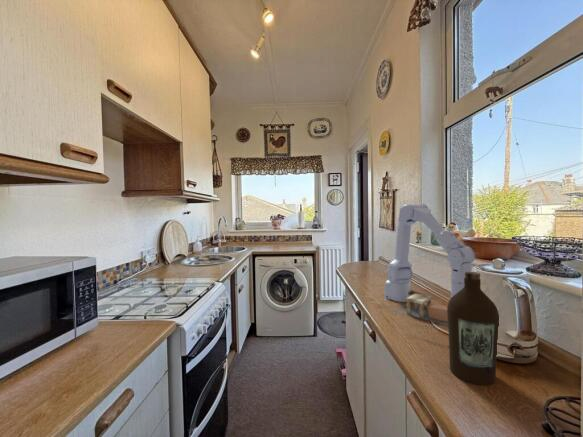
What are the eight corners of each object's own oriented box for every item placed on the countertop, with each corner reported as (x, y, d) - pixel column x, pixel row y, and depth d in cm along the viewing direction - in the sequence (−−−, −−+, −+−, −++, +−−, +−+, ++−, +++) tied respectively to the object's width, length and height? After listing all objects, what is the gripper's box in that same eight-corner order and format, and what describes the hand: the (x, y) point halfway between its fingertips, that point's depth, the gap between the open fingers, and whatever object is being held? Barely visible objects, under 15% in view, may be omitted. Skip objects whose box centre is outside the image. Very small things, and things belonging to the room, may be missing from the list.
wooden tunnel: (406, 313, 104) (406, 298, 104) (415, 308, 110) (415, 293, 110) (423, 318, 100) (423, 301, 100) (431, 311, 106) (431, 296, 105)
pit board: (392, 314, 107) (392, 311, 107) (403, 307, 114) (403, 304, 114) (453, 330, 92) (453, 326, 92) (461, 321, 99) (461, 318, 99)
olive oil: (444, 358, 75) (444, 267, 74) (490, 366, 71) (491, 269, 70) (450, 381, 65) (451, 276, 64) (505, 391, 61) (506, 279, 60)
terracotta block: (428, 317, 101) (428, 306, 100) (432, 314, 103) (432, 303, 103) (462, 325, 93) (462, 314, 93) (465, 322, 96) (466, 310, 95)
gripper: (468, 288, 87) (468, 331, 87) (479, 280, 97) (479, 318, 97) (444, 284, 92) (444, 324, 92) (457, 276, 102) (456, 313, 102)
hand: (460, 321), depth 95 cm, fingers closed on terracotta block, 4 cm apart
